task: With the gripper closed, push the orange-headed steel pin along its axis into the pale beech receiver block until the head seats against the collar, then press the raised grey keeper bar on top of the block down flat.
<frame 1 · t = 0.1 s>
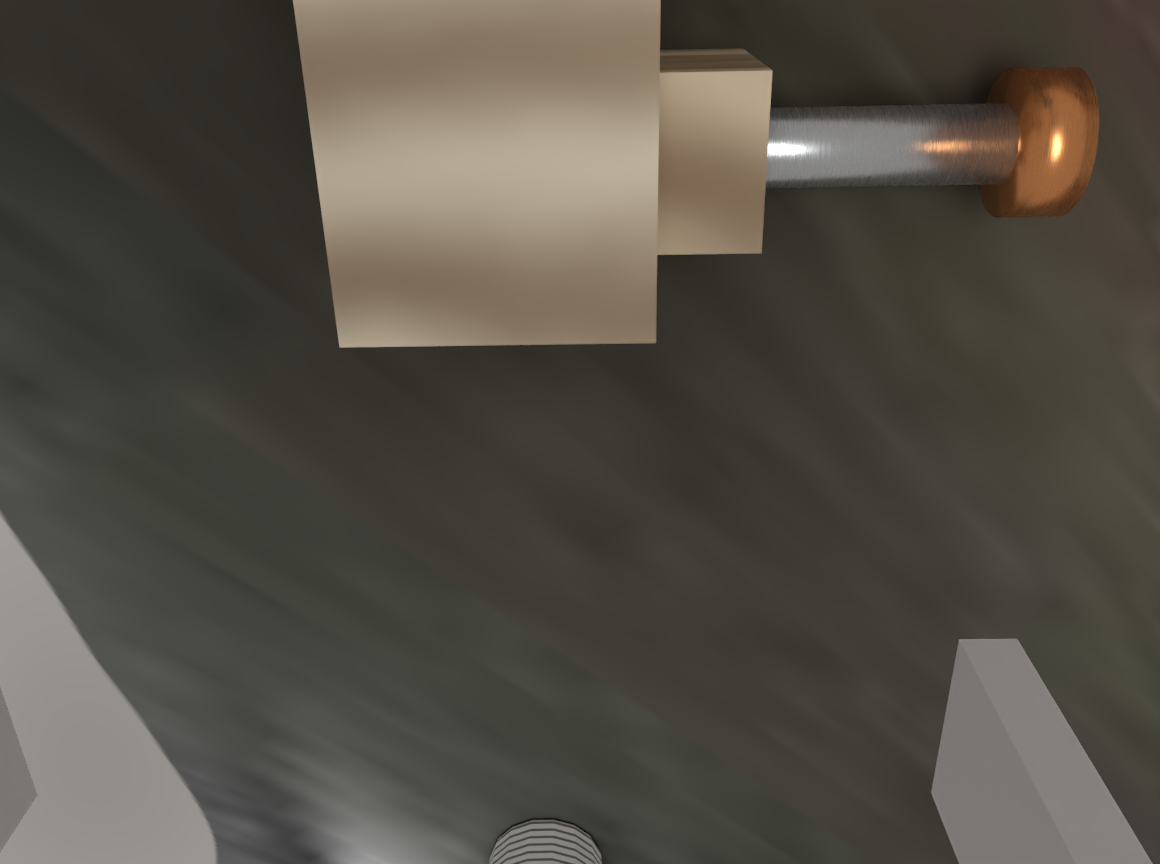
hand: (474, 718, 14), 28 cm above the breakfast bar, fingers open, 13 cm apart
pin: (810, 147, 34), point 4 cm above the breakfast bar, slide at 8.0 cm
cup: (546, 854, 55), on the breakfast bar
receiver block: (505, 17, 36), on the breakfast bar
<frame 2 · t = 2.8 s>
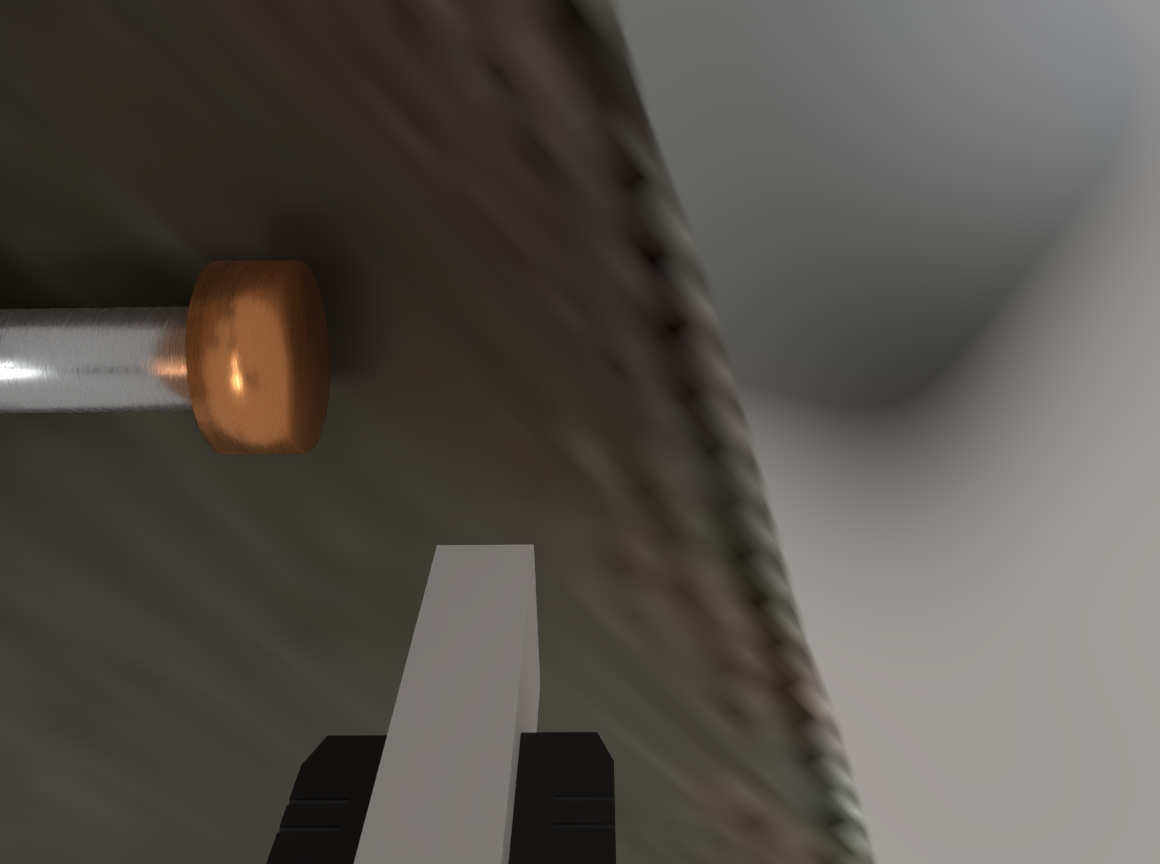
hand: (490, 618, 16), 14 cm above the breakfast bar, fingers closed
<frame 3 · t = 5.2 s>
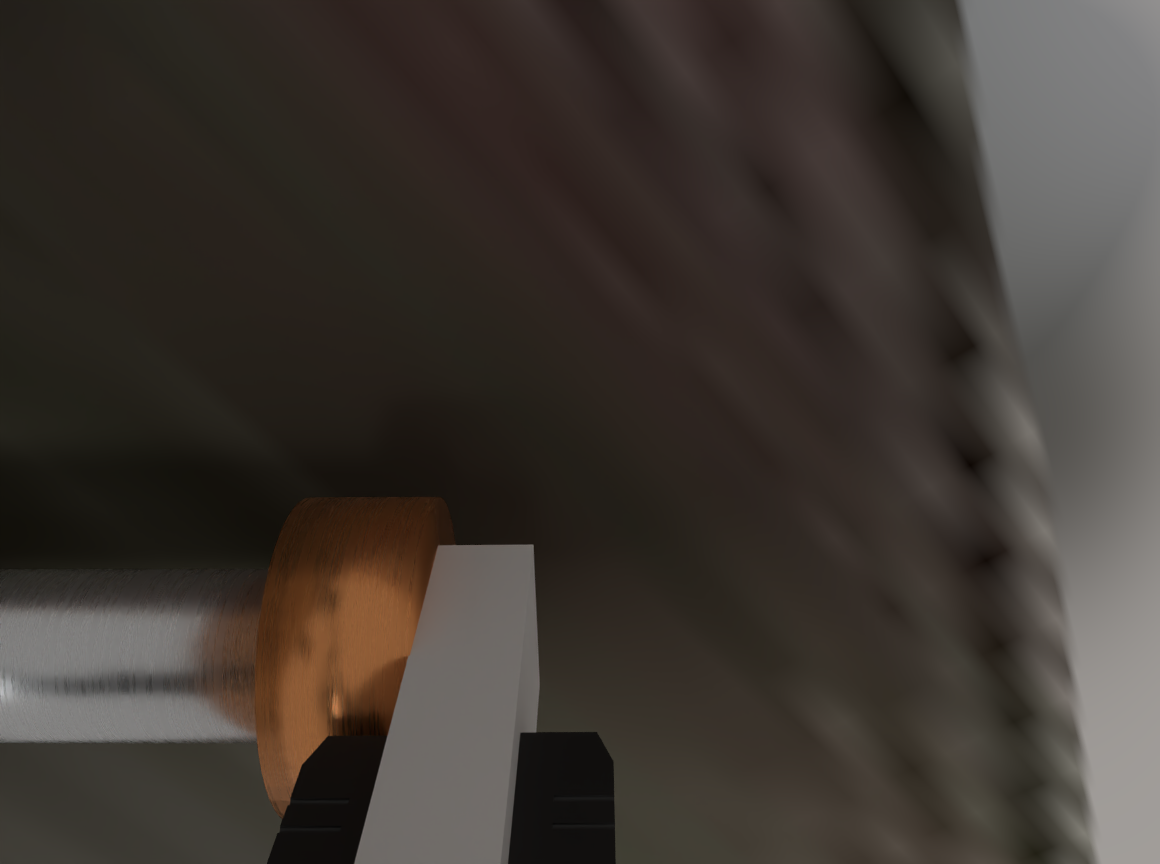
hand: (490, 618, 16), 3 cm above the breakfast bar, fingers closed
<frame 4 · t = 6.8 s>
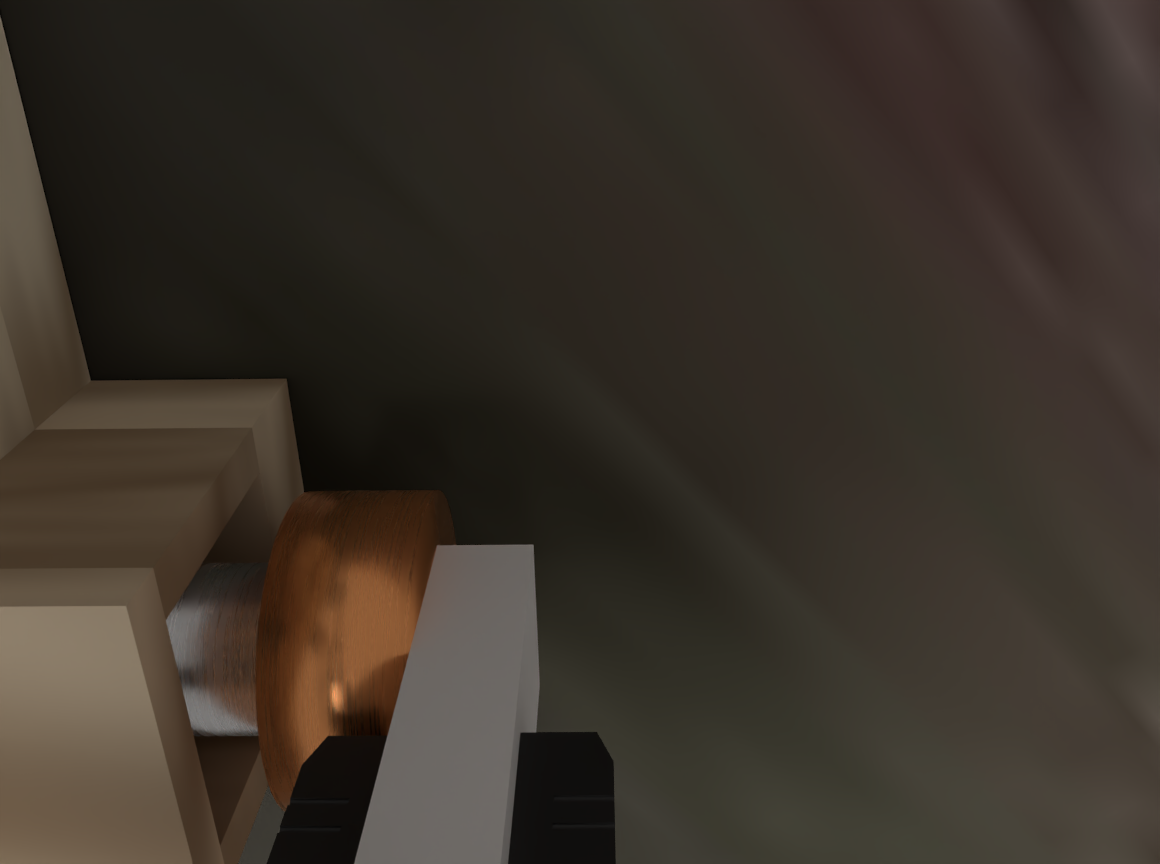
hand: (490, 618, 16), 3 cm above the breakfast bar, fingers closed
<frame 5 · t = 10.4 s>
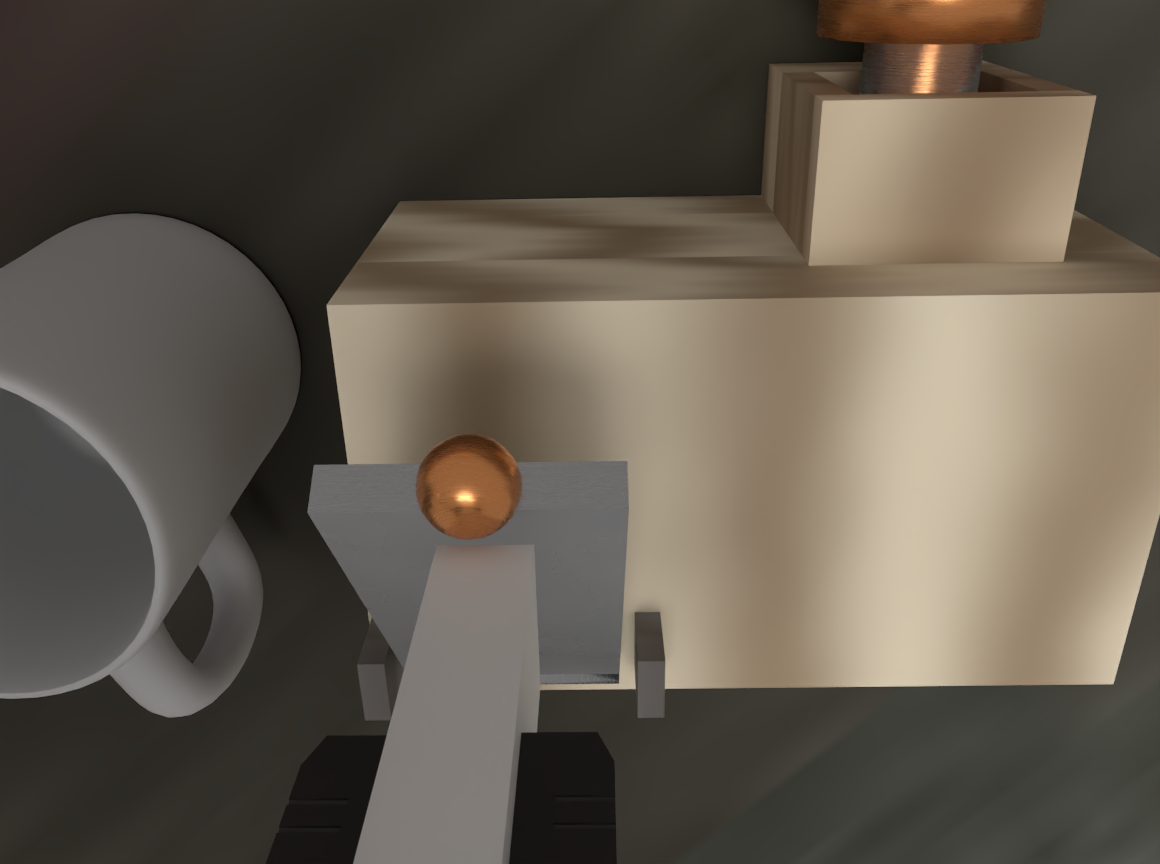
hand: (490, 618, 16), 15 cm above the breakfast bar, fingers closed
keeper: (496, 590, 19), point 13 cm above the breakfast bar, hinge at 35.0°, touching gripper
mug: (196, 394, 32), on the breakfast bar
pin: (891, 304, 26), point 4 cm above the breakfast bar, slide at 0.7 cm
receiver block: (711, 360, 31), on the breakfast bar
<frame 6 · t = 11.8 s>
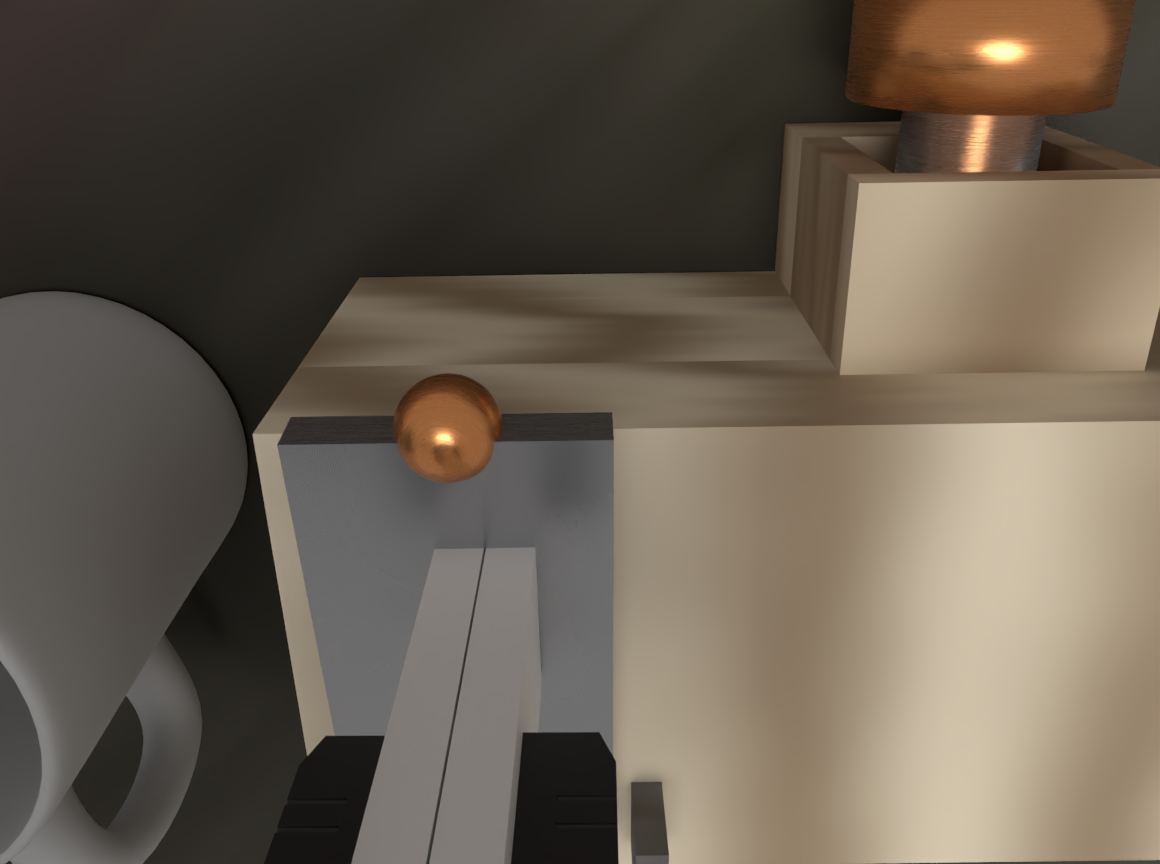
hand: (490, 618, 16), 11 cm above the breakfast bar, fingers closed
keeper: (470, 659, 17), point 10 cm above the breakfast bar, hinge at 5.7°, touching gripper
mug: (129, 491, 28), on the breakfast bar
pin: (930, 405, 22), point 4 cm above the breakfast bar, slide at 0.7 cm
receiver block: (717, 454, 27), on the breakfast bar
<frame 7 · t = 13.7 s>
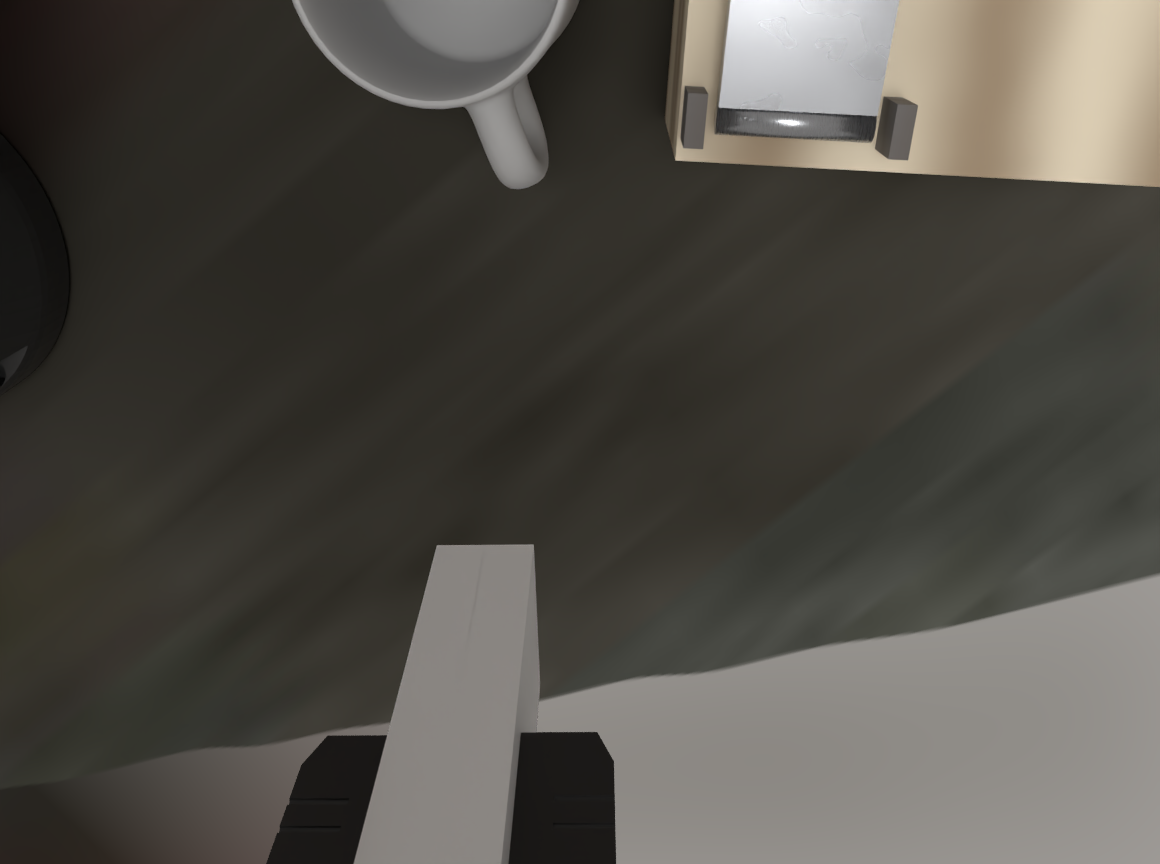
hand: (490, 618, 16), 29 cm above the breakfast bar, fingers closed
mug: (493, 1, 39), on the breakfast bar
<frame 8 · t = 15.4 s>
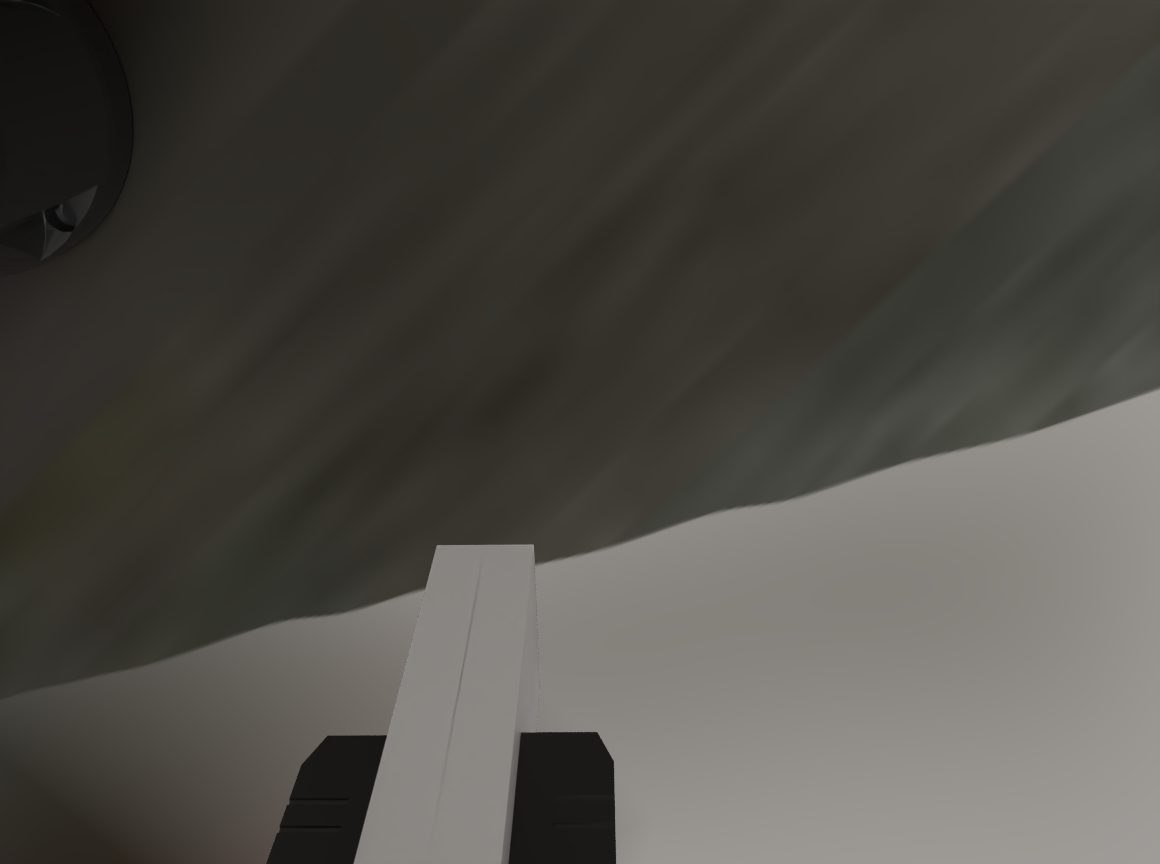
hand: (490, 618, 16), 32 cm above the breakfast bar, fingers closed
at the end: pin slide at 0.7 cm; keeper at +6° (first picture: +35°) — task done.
